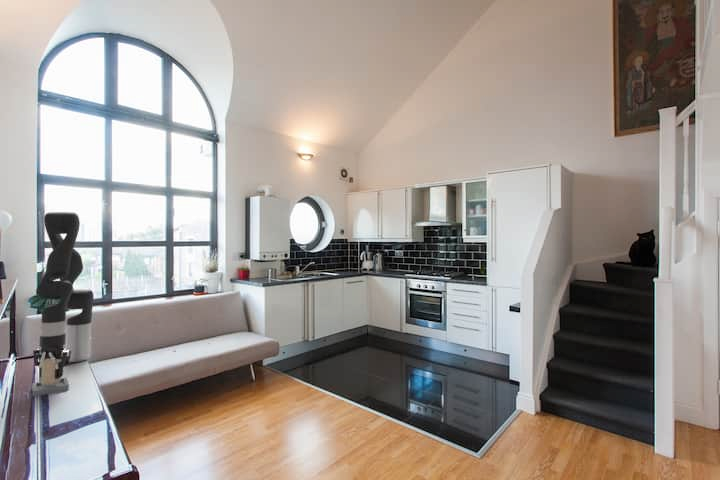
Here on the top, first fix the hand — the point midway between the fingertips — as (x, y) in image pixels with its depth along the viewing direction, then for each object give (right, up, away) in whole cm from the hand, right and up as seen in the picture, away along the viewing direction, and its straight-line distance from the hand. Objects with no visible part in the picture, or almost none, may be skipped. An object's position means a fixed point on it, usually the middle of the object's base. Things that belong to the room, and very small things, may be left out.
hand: (51, 377), depth 135 cm
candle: (0, -2, 0) cm, 2 cm away
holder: (0, -4, 0) cm, 4 cm away
